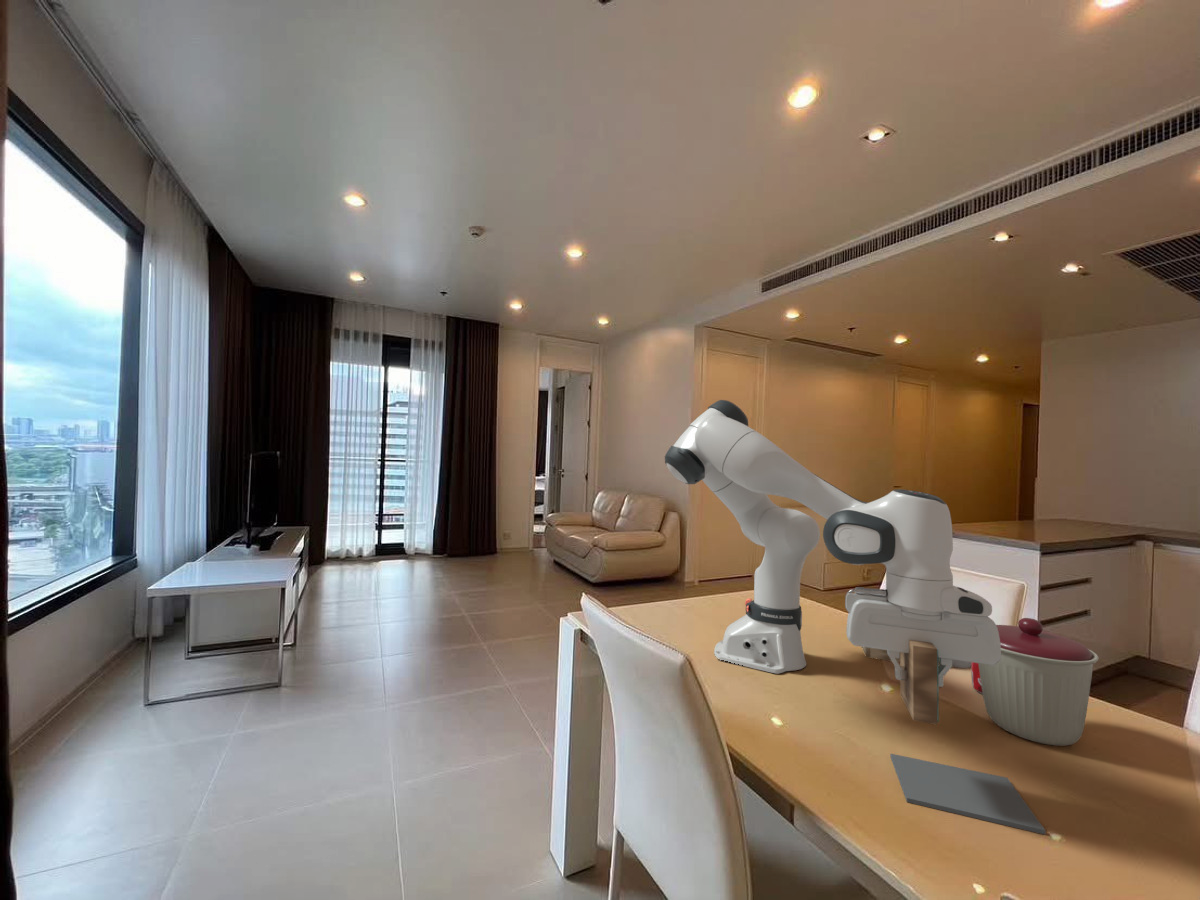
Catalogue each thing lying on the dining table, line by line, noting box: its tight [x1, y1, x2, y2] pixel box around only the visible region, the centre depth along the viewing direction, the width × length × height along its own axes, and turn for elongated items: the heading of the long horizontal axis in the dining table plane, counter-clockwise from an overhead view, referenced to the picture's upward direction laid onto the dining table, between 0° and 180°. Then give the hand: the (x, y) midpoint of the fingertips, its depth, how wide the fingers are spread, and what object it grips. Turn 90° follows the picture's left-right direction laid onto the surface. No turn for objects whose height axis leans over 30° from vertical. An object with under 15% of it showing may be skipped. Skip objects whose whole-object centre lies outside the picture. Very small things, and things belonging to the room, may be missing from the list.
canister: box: [978, 617, 1099, 747], centre depth 92 cm, size 18×18×21 cm
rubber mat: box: [889, 753, 1046, 835], centre depth 73 cm, size 16×12×1 cm
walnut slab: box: [899, 640, 940, 726], centre depth 75 cm, size 3×9×11 cm, turn 158°
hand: (918, 681), depth 75 cm, fingers closed on walnut slab, 3 cm apart
